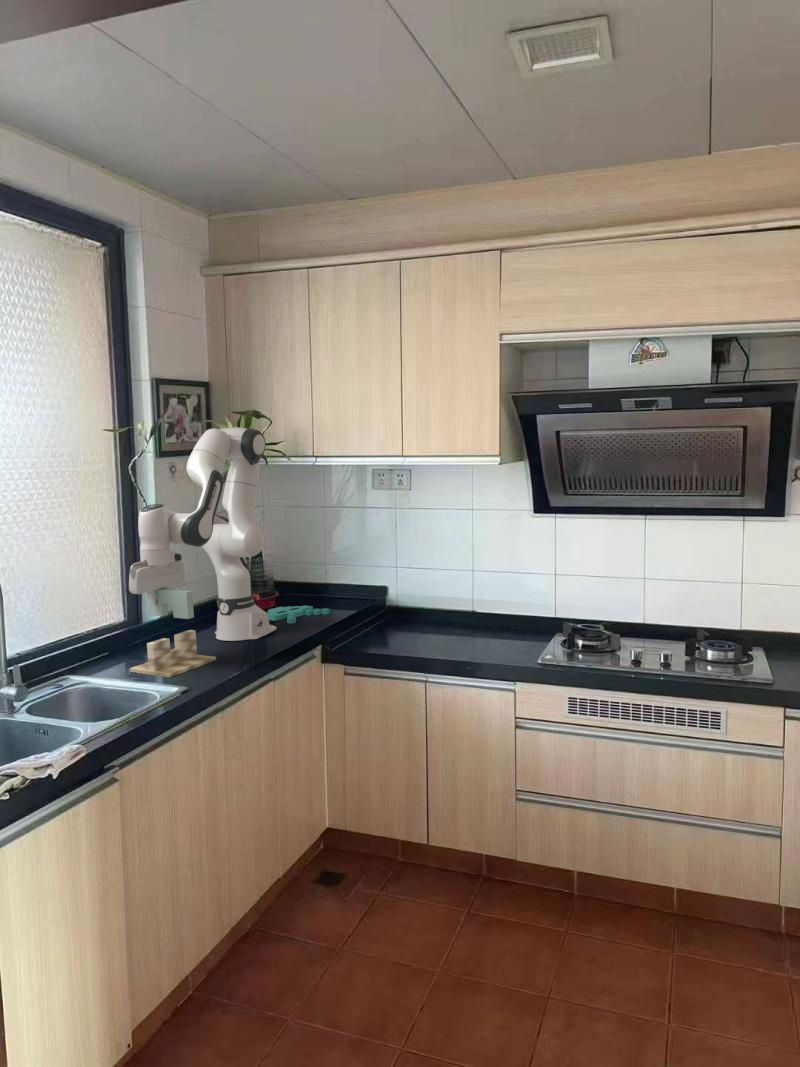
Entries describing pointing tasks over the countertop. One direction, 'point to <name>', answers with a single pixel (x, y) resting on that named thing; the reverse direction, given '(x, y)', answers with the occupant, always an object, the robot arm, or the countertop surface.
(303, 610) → the alien figure
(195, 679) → the countertop surface
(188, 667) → the slotted stand
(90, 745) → the countertop surface
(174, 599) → the crossbar
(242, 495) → the robot arm
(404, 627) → the countertop surface
